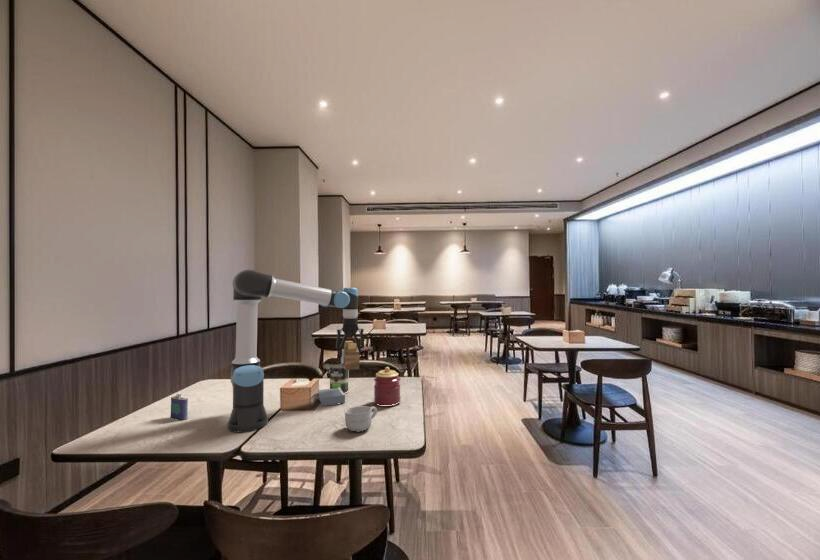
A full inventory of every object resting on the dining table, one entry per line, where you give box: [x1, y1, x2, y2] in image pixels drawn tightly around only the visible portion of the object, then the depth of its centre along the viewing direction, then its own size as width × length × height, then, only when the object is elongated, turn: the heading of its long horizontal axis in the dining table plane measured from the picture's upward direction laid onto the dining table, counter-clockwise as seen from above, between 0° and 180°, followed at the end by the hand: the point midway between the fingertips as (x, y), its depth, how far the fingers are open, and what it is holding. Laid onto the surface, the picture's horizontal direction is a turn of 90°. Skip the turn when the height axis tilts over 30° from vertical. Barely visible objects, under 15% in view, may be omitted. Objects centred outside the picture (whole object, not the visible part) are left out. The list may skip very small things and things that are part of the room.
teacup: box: [344, 405, 378, 432], centre depth 145 cm, size 14×11×8 cm
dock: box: [318, 387, 346, 407], centre depth 181 cm, size 14×11×4 cm
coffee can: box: [329, 363, 350, 393], centre depth 196 cm, size 10×10×14 cm
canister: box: [373, 366, 401, 405], centre depth 177 cm, size 13×13×18 cm
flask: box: [170, 393, 189, 421], centre depth 157 cm, size 9×3×11 cm, turn 68°
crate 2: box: [347, 342, 358, 353], centre depth 181 cm, size 4×4×4 cm
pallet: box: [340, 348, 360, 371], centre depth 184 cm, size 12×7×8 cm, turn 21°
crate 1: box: [343, 340, 354, 350], centre depth 188 cm, size 4×4×4 cm
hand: (349, 362), depth 184 cm, fingers closed on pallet, 7 cm apart
